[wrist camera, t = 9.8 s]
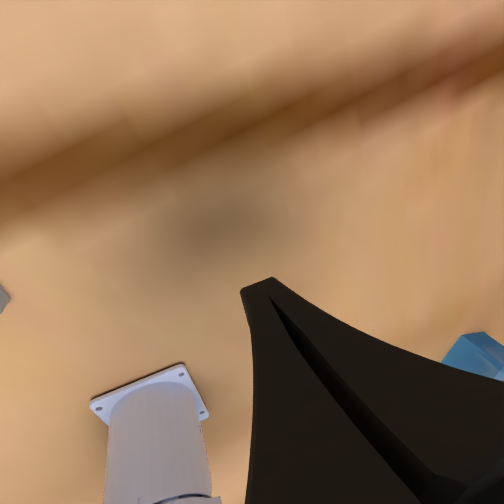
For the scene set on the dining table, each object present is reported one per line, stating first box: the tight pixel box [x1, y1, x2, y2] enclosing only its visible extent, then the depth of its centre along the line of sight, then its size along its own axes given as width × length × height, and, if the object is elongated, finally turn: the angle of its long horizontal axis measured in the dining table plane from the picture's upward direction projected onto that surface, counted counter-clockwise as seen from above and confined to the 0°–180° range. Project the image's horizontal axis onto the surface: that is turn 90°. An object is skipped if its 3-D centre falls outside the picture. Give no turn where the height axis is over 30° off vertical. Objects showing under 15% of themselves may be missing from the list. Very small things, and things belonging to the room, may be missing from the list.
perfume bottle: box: [441, 332, 504, 381], centre depth 41 cm, size 6×6×12 cm
